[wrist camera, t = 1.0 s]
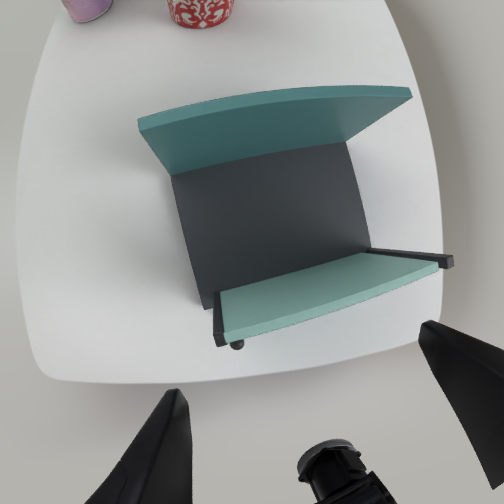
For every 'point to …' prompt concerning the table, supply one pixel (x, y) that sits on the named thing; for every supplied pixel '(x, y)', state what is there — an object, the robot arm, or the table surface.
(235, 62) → the table surface
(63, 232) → the table surface
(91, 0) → the beverage can
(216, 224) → the shower stall
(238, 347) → the shower door
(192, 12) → the mug
